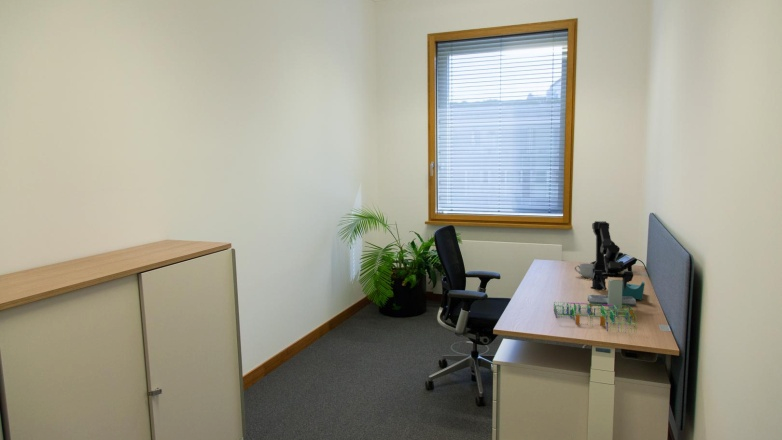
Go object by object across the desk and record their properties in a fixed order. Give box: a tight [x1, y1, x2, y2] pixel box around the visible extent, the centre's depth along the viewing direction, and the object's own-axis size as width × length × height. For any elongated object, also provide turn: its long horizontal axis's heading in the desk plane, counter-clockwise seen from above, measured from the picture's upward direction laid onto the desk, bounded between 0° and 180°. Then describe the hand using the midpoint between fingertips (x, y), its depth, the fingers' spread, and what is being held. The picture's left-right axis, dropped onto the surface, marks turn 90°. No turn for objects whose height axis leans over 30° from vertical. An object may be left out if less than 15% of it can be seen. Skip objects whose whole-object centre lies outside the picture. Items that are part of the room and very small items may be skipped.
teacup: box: [573, 262, 594, 279], centre depth 321 cm, size 14×11×8 cm
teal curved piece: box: [621, 278, 645, 301], centre depth 271 cm, size 18×11×10 cm, turn 151°
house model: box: [553, 301, 638, 333], centre depth 228 cm, size 35×30×5 cm
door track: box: [587, 294, 637, 307], centre depth 258 cm, size 22×8×3 cm, turn 78°
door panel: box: [607, 278, 623, 309], centre depth 250 cm, size 6×3×14 cm, turn 78°
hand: (615, 289), depth 250 cm, fingers open, 9 cm apart
